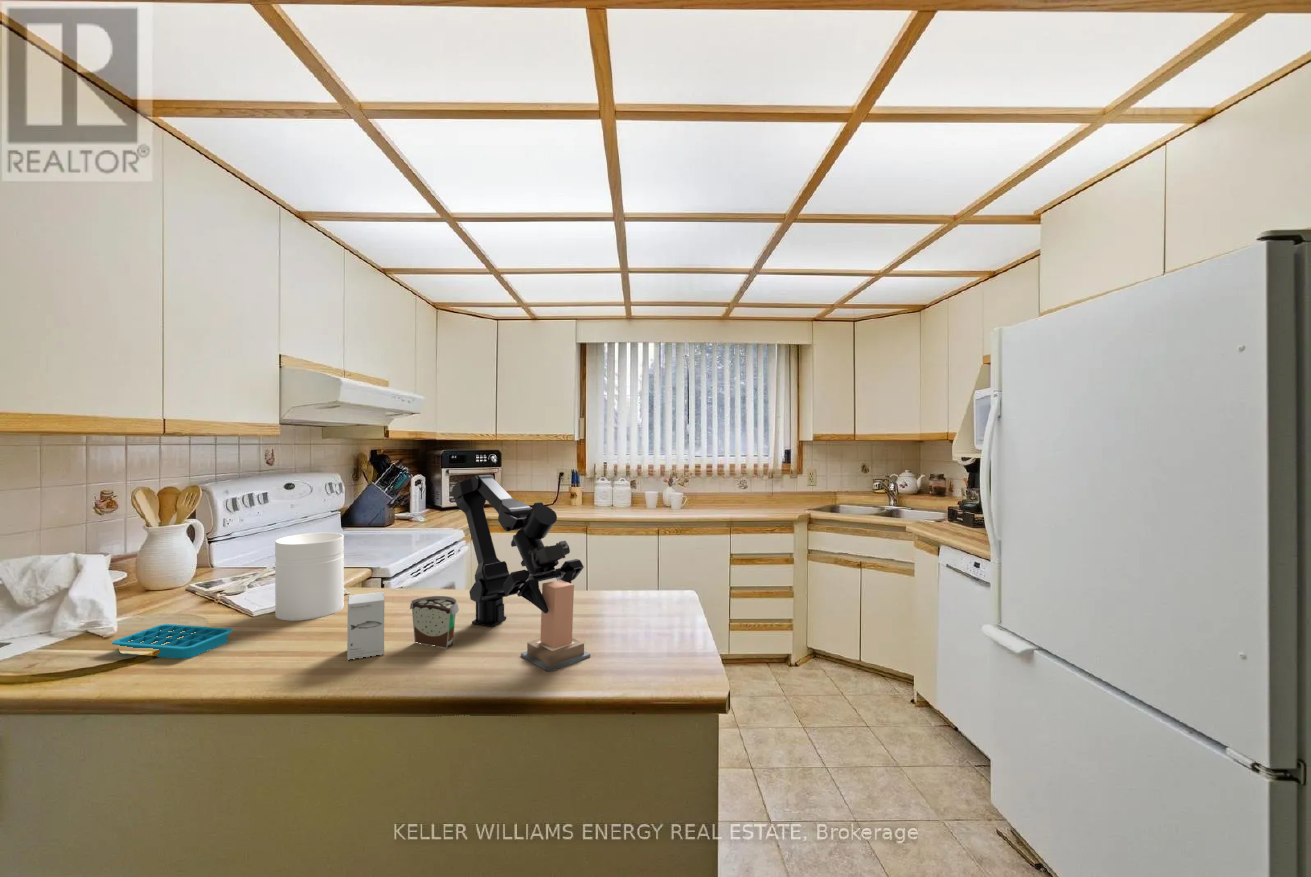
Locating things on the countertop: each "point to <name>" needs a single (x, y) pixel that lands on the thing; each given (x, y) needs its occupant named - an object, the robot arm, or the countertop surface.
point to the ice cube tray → (177, 640)
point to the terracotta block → (557, 613)
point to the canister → (309, 576)
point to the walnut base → (554, 654)
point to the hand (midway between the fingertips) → (559, 609)
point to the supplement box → (365, 625)
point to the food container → (434, 620)
